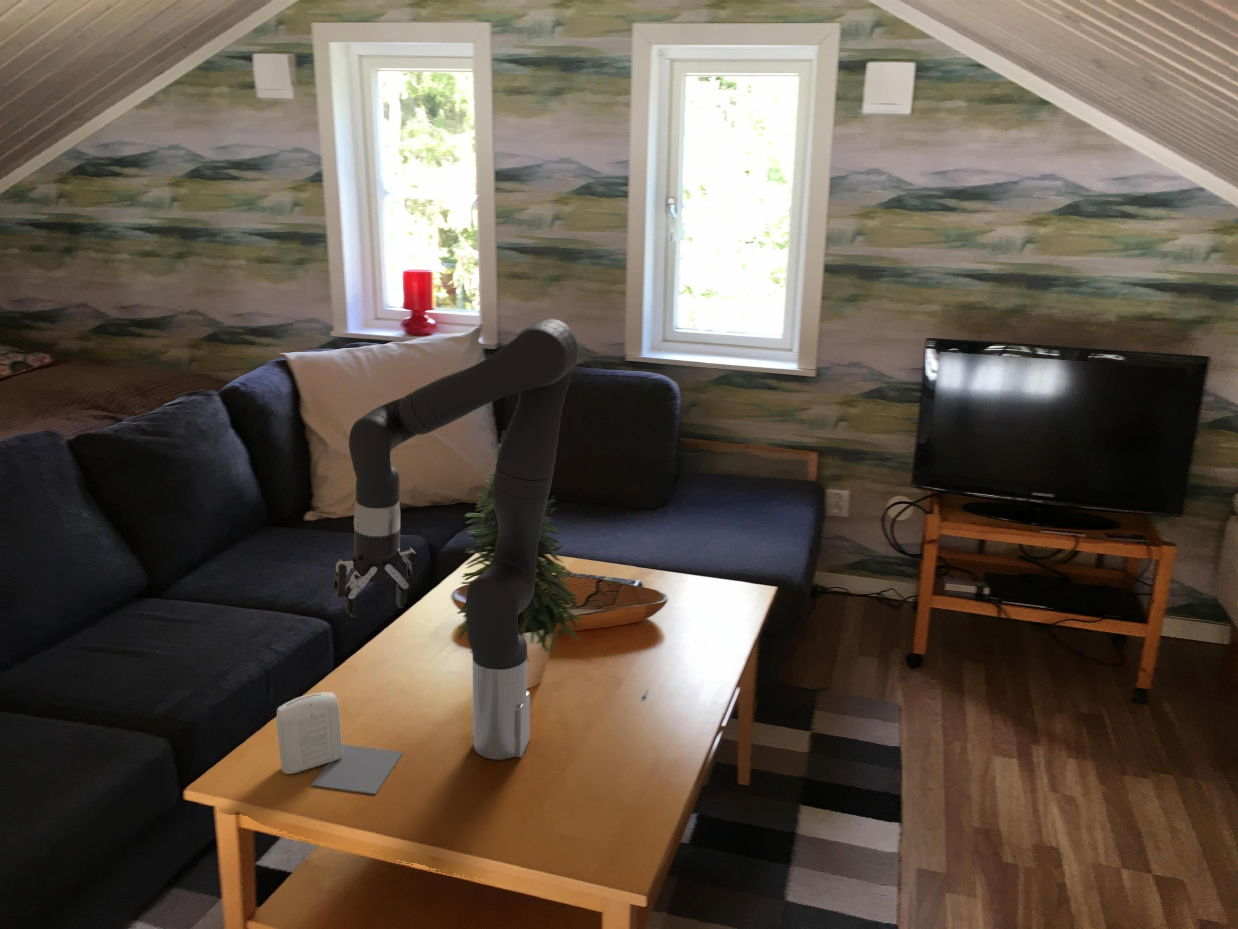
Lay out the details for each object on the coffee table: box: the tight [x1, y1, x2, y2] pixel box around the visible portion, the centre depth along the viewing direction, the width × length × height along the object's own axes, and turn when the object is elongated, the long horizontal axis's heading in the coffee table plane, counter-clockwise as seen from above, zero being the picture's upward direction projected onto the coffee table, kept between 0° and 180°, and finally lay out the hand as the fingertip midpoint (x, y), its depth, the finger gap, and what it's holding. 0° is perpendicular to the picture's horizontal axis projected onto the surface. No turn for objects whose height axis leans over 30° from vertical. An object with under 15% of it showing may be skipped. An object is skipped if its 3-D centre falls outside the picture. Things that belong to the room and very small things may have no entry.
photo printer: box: [276, 691, 343, 775], centre depth 170 cm, size 10×4×12 cm, turn 123°
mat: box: [310, 743, 404, 796], centre depth 171 cm, size 11×12×1 cm
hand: (376, 610), depth 177 cm, fingers open, 8 cm apart
